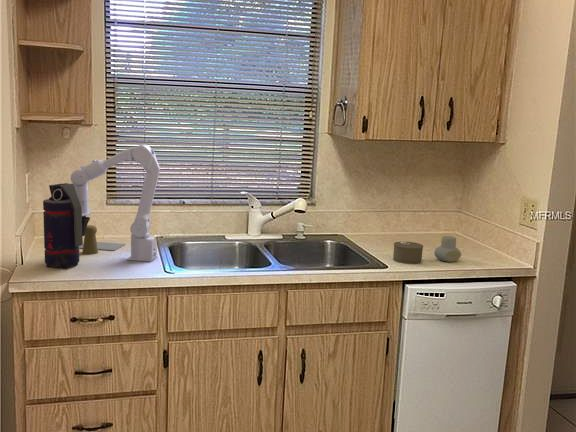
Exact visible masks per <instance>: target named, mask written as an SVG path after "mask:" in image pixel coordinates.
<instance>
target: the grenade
mask: <svg viewBox="0 0 576 432" xmlns="http://www.w3.org/2000/svg"><path fill="white" fill-rule="evenodd" d="M48 187H49V192H50V197H49V198H47V199H44V200H42V208H43V211H42V212H43V244H44V246H43V247H44V249H45V250H44V264H45V266H46V268H49V267H58V268H59V269H60V270H67V269H68V267H70V266H74V265H76V266H77V265H78V264H79V263H80V249H79V246H81V245H83V244H84V236H83V235H82V208H81V204H80V202H79V199H78V197H77V194H76V190H75V187H74V184H72V183H69V182H64V183H57V184H49V185H48Z"/></svg>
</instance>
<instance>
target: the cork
mask: <svg viewBox="0 0 576 432" xmlns="http://www.w3.org/2000/svg"><path fill="white" fill-rule="evenodd" d="M97 230H98V228H97V226H95V225H93V224H89V225H88V224H87V227H86V231H85V235H84V236H83V249H82V254H83V255H96V254H99V250H98V247H97V242H98V241H97V236H96V235H97V234H96V233H97Z"/></svg>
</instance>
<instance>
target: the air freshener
mask: <svg viewBox="0 0 576 432" xmlns="http://www.w3.org/2000/svg"><path fill="white" fill-rule="evenodd" d="M440 242H441V243H440V246H437V247H436V248H435V249H434V252H433V254H434V256H435V258H436V259H438V260H440V261H441V262H445V263H454V262H456V261H458V260H459V259H460V258H461V257H462V252H461V250H460V249H458V247H456V246H457V237H455V236H450V235H443V236H442V237H441V241H440Z"/></svg>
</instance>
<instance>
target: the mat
mask: <svg viewBox="0 0 576 432" xmlns="http://www.w3.org/2000/svg"><path fill="white" fill-rule="evenodd" d="M125 245H126V243H122V242H121V243H119V242H103V241H97V247H98V251H107V252H115V251H117V250H119V249H121V248H122V247H124V246H125ZM79 250H83V245H81V246H79Z"/></svg>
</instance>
